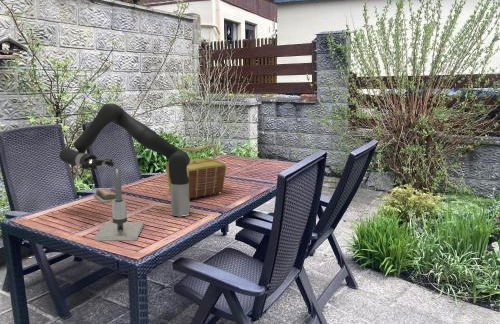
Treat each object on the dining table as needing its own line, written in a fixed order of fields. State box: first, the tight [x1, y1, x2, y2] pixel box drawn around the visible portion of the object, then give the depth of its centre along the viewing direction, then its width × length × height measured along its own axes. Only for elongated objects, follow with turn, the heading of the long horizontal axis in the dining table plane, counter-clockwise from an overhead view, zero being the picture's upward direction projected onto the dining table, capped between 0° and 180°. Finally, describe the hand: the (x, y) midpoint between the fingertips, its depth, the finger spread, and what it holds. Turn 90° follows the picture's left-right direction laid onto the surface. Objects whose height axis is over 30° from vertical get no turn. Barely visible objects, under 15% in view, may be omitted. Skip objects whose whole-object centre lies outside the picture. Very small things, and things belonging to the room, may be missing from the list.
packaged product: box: [93, 187, 116, 204], centre depth 247 cm, size 18×5×10 cm
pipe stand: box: [94, 168, 145, 242], centre depth 189 cm, size 18×18×30 cm
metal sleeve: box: [111, 198, 128, 220], centre depth 190 cm, size 6×6×8 cm
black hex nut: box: [112, 216, 128, 224], centre depth 191 cm, size 6×6×2 cm
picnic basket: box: [165, 144, 227, 200], centre depth 253 cm, size 29×26×30 cm
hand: (104, 165), depth 194 cm, fingers open, 8 cm apart
